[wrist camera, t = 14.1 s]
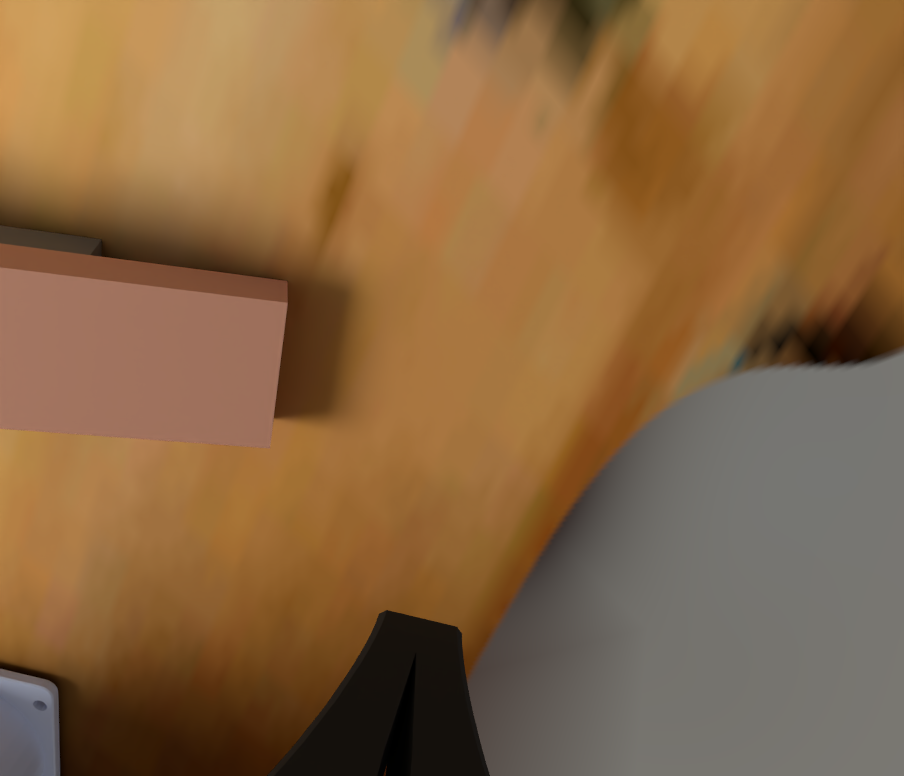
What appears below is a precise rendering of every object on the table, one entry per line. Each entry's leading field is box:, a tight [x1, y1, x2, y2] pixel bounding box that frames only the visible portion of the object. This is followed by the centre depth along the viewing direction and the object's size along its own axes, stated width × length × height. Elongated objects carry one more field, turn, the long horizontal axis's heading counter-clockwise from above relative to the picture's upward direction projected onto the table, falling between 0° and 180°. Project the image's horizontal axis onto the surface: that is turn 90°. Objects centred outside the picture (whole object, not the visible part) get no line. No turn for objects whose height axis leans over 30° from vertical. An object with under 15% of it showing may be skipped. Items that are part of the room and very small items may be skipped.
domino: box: [0, 243, 288, 448], centre depth 20 cm, size 4×2×8 cm
